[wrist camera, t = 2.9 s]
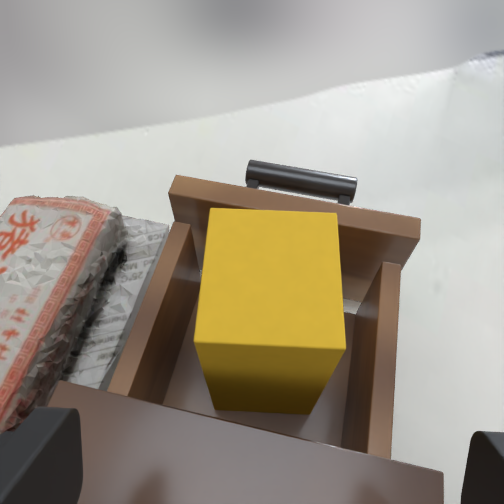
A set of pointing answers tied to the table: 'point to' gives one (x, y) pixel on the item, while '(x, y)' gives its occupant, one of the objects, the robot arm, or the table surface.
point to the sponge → (270, 309)
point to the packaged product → (67, 295)
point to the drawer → (353, 288)
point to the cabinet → (223, 460)
